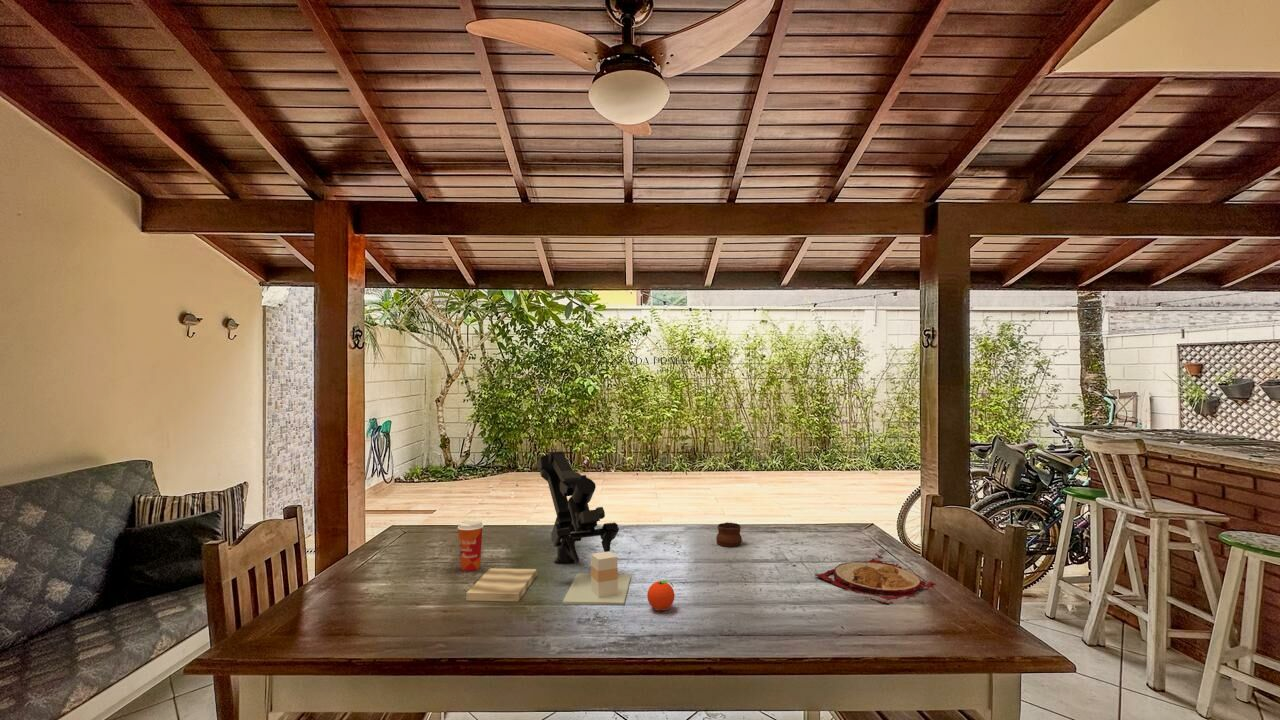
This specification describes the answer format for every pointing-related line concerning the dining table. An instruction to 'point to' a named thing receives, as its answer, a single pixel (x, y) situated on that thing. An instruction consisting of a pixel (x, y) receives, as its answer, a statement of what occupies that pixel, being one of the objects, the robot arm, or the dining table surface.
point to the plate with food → (876, 579)
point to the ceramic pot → (729, 535)
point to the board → (502, 585)
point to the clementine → (660, 595)
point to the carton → (604, 574)
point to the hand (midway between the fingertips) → (593, 560)
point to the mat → (584, 595)
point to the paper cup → (470, 544)
